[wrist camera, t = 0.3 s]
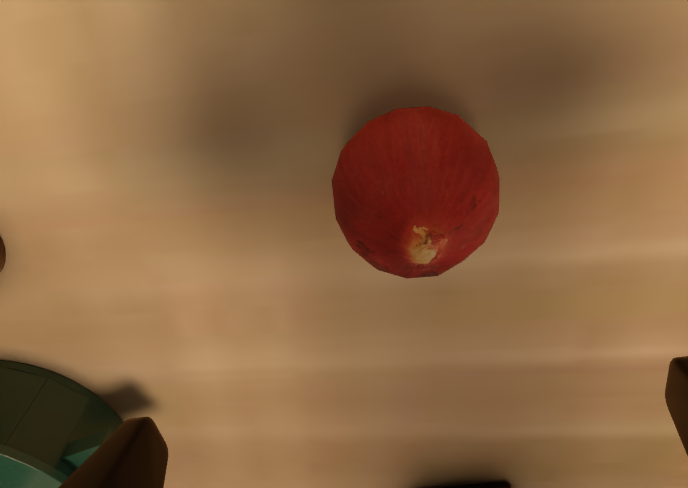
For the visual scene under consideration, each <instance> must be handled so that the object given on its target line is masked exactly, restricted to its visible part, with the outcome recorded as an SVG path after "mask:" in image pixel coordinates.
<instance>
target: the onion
mask: <svg viewBox="0 0 688 488" xmlns="http://www.w3.org/2000/svg"><path fill="white" fill-rule="evenodd" d="M332 187H333V197H334V207H335V215H336V220H337V222H338V224H339V226H340V228H341V230H342V232H343V234H344V236H345V238H346V240H347V242H348V243H349V245H350V246H351V247H352V249H353V250H354V251H355V252H356V253H358V254H359V255H360V256H361V257H362V258H364V259H365V260H366V261H367V262H368V263H370V264H371V265H372V266H373V267H374V268H376V269H378V270H380V271H384V272H387V273H390V274H394V275H397V276H401V277H404V278H418V277H431V276H438V275H440V274H442V273H443V272H445V271H447V270H448V269H450V268H452V267H454V266H455V265H457V264H459V263H460V262H462V261H463V260H465V259H466V258H467V257H468V256H469V255H470V254H471V253H473V252H474V251H475V250H476V249H477V248H478V247H479V246H481V245H482V244H483V243H484V242H485V240H486V238H487V236H488V234H489V232H490V230H491V228H492V226H493V224H494V222H495V220H496V217H497V215H498V212H499V174H498V170H497V167H496V164H495V162H494V159H493V157H492V154H491V152H490V149H489V146H488V144H487V141H486V140H484V139H483V138H482V137H481V136H480V135H479V134H478V133H477V132H476V131H474V130H473V129H472V128H471V127H470V126H469V125H468V124H467V123H466V122H465V121H464V120H463V119H462V118H460V117H459V116H458V115H456V114H452V113H449V112H446V111H442V110H439V109H436V108H432V107H429V106H427V107H414V108H401V109H395V110H393V111H391V112H389V113H386V114H384V115H382V116H379V117H377V118H375V119H373V120H370V121H368V122H367V123H366V124H365V125H364V126H363V127H362V128H361V129H360V130H359V131H358V132H357V133H356V134H355V135H354V137H353V138H352V139H351V140H350V141H349V142H348V143H347V144H346V145H345V147H344V148H343V149H342V151H341V154H340V157H339V160H338V163H337V166H336V169H335V172H334V175H333V178H332Z"/></svg>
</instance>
